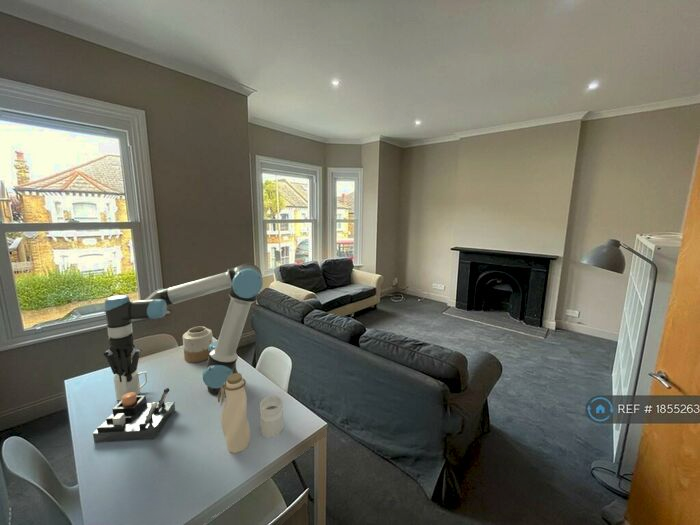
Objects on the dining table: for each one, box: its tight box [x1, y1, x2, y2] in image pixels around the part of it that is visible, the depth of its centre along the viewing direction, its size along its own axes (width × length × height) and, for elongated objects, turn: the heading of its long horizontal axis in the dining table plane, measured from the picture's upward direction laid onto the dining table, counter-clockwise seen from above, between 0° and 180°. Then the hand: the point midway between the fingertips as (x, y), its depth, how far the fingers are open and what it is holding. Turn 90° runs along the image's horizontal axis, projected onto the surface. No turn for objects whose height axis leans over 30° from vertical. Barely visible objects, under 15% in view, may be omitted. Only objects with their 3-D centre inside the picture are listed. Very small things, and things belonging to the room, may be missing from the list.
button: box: [122, 392, 138, 407], centre depth 117 cm, size 5×5×4 cm
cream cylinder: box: [259, 395, 284, 438], centre depth 114 cm, size 9×9×12 cm
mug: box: [113, 369, 148, 402], centre depth 133 cm, size 12×9×11 cm
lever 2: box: [157, 387, 170, 408], centre depth 119 cm, size 2×3×8 cm
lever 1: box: [144, 401, 158, 424], centre depth 110 cm, size 2×3×8 cm
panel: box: [92, 394, 176, 444], centre depth 115 cm, size 21×16×8 cm
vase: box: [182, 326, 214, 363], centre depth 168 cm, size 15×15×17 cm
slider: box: [113, 413, 125, 425], centre depth 109 cm, size 2×3×4 cm
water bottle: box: [217, 372, 251, 454], centre depth 104 cm, size 10×9×28 cm
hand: (127, 388), depth 116 cm, fingers closed
